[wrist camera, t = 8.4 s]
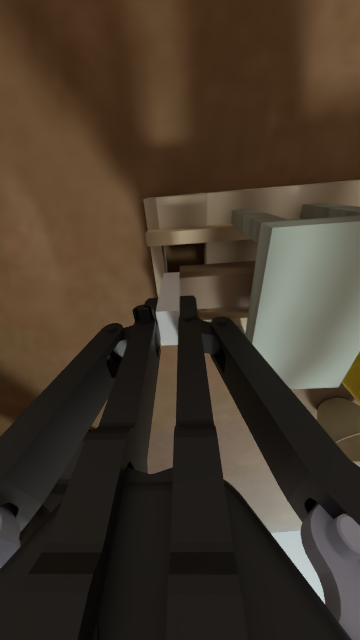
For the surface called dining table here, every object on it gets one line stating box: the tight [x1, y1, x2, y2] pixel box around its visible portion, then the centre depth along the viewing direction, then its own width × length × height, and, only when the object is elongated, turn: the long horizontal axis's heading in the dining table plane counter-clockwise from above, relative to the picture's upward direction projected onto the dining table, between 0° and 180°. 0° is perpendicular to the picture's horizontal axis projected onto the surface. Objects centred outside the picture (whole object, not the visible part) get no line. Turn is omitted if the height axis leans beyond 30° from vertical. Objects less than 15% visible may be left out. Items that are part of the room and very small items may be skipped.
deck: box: [143, 180, 360, 389], centre depth 16 cm, size 23×14×12 cm, turn 94°
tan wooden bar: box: [179, 261, 256, 309], centre depth 17 cm, size 18×5×5 cm, turn 94°
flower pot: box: [317, 398, 360, 463], centre depth 32 cm, size 10×10×7 cm
